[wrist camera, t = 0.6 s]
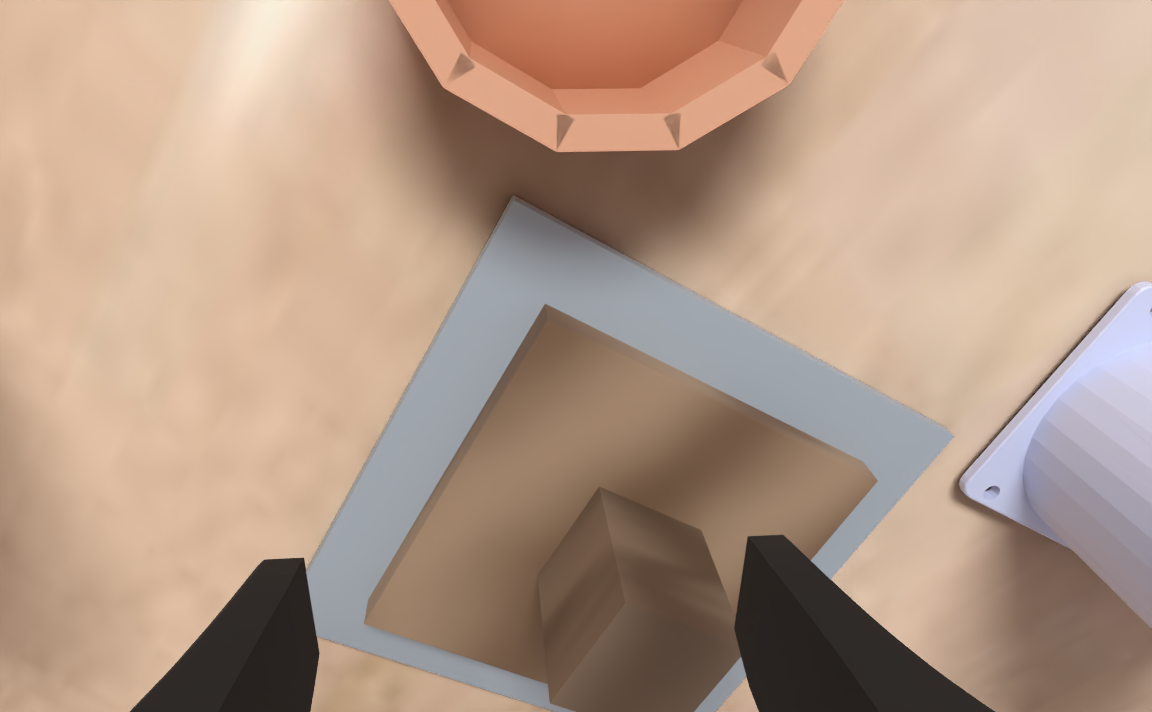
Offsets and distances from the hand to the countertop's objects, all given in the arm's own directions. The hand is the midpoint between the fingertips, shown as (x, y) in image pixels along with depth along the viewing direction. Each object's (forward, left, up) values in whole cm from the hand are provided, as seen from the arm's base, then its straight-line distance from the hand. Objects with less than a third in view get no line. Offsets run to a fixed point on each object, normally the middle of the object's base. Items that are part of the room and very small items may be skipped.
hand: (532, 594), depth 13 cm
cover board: (-6, +4, -9) cm, 11 cm away
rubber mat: (-6, +4, -10) cm, 12 cm away
